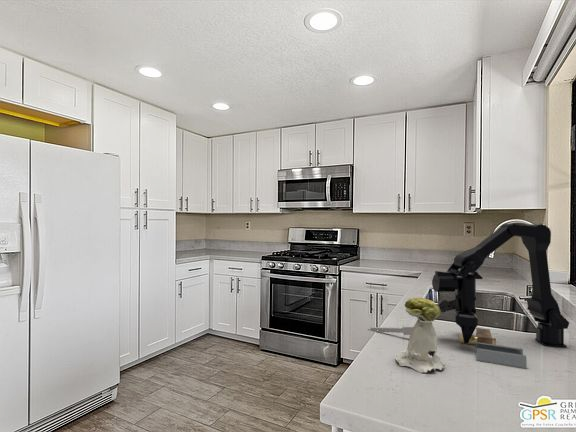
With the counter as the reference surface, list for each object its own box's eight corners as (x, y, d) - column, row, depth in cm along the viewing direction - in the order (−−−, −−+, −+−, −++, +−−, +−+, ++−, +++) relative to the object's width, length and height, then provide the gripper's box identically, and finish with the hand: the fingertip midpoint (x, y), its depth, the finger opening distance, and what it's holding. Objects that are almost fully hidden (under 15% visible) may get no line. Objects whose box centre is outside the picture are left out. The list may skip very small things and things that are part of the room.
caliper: (425, 343, 114) (425, 324, 114) (423, 344, 113) (424, 325, 113) (368, 330, 127) (368, 313, 127) (367, 330, 126) (367, 313, 126)
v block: (522, 359, 100) (522, 348, 101) (526, 368, 94) (526, 357, 94) (475, 352, 106) (475, 341, 106) (476, 360, 100) (476, 349, 100)
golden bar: (495, 344, 112) (495, 336, 111) (496, 350, 109) (496, 341, 109) (459, 339, 117) (459, 331, 116) (459, 344, 114) (459, 336, 113)
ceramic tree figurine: (407, 351, 106) (407, 291, 106) (451, 363, 97) (451, 298, 97) (389, 362, 97) (389, 297, 97) (435, 377, 88) (435, 305, 89)
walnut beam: (489, 341, 116) (489, 329, 116) (492, 351, 107) (492, 338, 107) (476, 339, 117) (476, 327, 117) (477, 349, 108) (477, 336, 108)
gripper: (440, 285, 127) (440, 327, 126) (438, 294, 110) (437, 343, 110) (475, 288, 122) (474, 332, 121) (478, 298, 105) (477, 350, 105)
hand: (465, 339), depth 114 cm, fingers open, 8 cm apart
